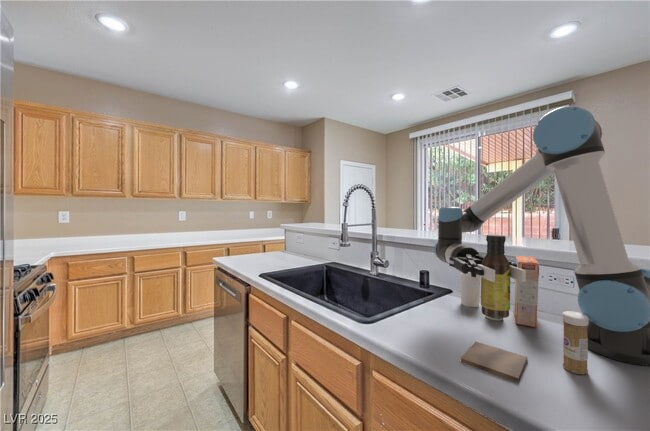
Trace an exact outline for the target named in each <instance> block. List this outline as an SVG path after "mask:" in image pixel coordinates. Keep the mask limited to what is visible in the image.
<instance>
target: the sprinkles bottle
mask: <svg viewBox="0 0 650 431" xmlns="http://www.w3.org/2000/svg"><path fill="white" fill-rule="evenodd" d="M561 318H562V319H561V320H562V322H563V339H562V340H563V341H562V345H563V346H562V350H563V351H562V352H563V363H562V366H563V368H564V369H565V370H566V371H568V372H571V373H573V374H577V375H586V374H588V373H589V370H588V356H589V355H588V354H589V353H588V352H589V349H588V337H587V327H588V317H587V316H586V315H585V314H583V313H582V312H578V311H571V310H566V311H563V312H562V317H561Z"/></svg>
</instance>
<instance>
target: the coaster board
mask: <svg viewBox="0 0 650 431" xmlns="http://www.w3.org/2000/svg"><path fill="white" fill-rule="evenodd" d="M460 363H463V364H465V365H468V366H471V367H473V368H477V369H480V370H481V371H484V372H488V373H490V374H493V375H496V376H498V377H502V378H504V379H507V380H509V381H512V382H515V383H519V382H520V380H521V377H522V375H523V372H524V370H525V367H526V366H527V363H528V356H526V355H525V356H524V355H522V354H520V353H519V354H518V353H516V352H512V351H509V350H506V349H502V348H498V347H497V346H493V345H489V344H486V343H483V342H479V341H474V342H473V343H472V345H471V346H470V347H469V348H468V349H467V351H465V353H464V354H463V355H462V356H461V358H460Z"/></svg>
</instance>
